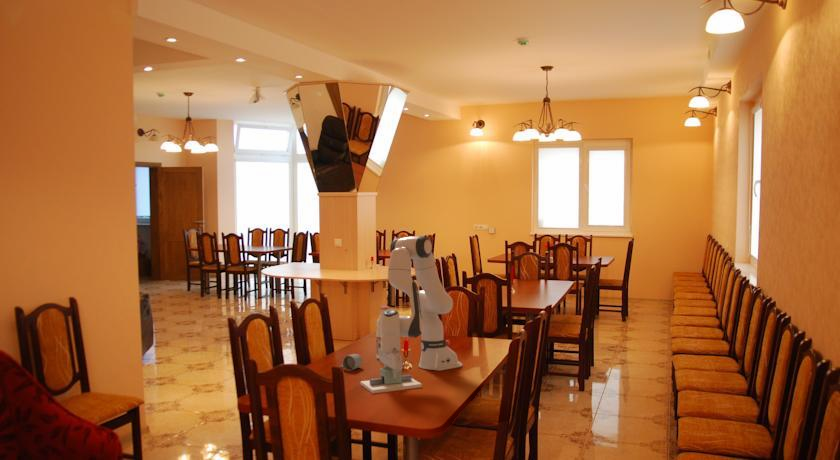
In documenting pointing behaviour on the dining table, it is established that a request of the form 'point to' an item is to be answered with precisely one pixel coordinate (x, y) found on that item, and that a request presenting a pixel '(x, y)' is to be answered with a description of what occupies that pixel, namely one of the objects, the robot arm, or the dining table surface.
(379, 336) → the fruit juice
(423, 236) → the robot arm
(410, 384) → the mounting board
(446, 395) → the dining table surface
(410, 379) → the metal rail
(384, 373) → the channel block
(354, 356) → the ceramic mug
